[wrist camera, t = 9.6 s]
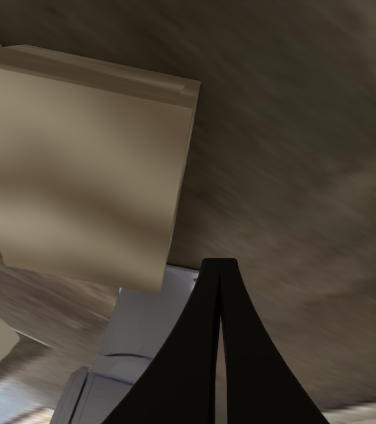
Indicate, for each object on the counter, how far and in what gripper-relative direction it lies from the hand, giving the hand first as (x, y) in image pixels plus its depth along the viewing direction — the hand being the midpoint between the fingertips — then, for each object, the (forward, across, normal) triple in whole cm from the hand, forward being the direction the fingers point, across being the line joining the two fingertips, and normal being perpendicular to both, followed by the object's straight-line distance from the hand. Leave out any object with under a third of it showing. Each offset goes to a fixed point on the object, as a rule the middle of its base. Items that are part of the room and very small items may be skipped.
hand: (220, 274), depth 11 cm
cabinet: (+10, +8, -1) cm, 13 cm away
